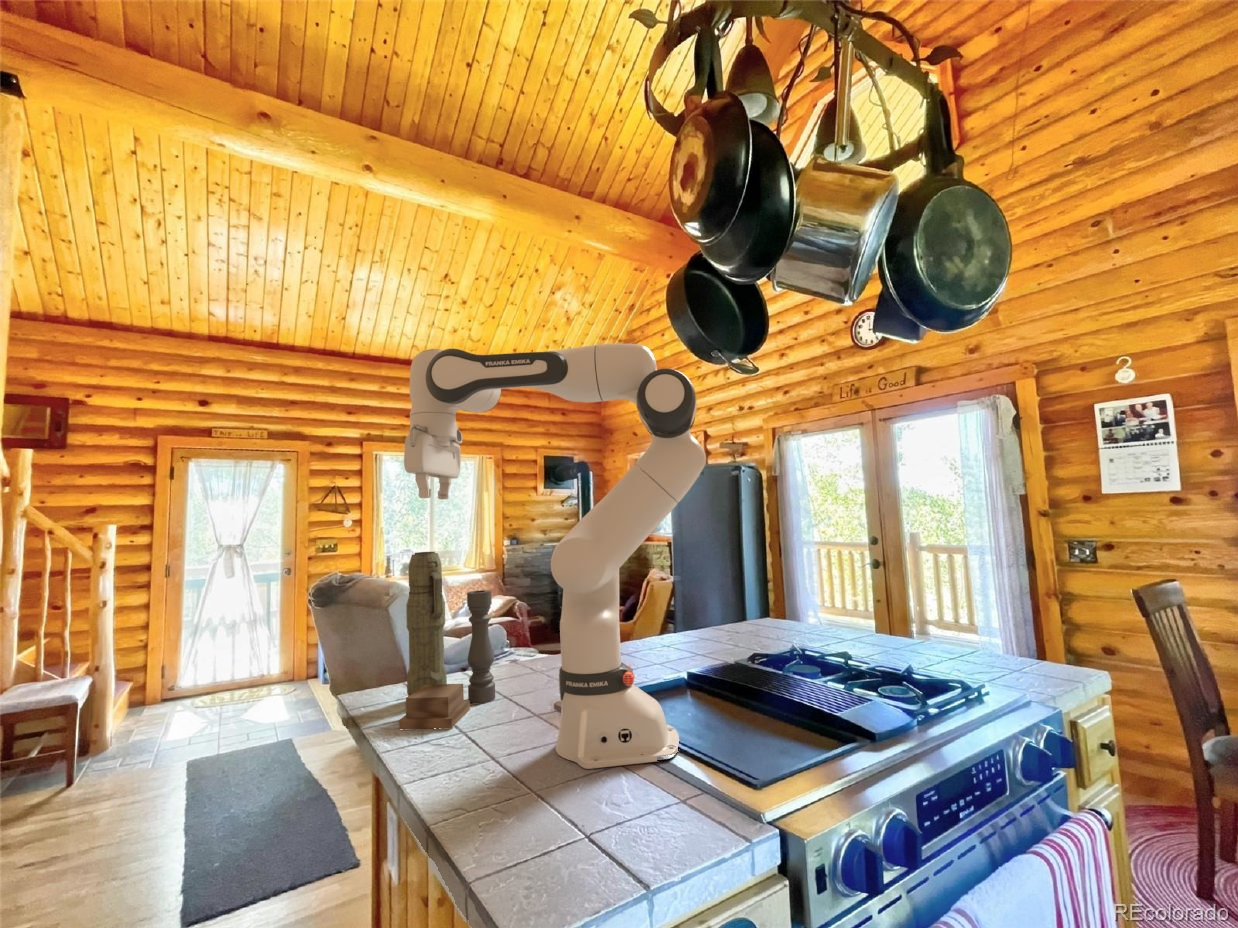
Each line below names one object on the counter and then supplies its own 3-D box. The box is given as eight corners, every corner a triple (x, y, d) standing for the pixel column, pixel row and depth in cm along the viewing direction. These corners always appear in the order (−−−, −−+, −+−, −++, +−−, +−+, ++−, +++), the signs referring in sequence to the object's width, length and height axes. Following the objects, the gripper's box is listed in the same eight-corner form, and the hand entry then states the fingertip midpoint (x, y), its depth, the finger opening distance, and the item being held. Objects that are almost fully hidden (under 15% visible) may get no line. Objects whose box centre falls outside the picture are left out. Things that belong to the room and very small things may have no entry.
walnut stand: (469, 709, 123) (469, 682, 123) (451, 728, 112) (451, 698, 113) (421, 711, 124) (421, 683, 124) (399, 730, 113) (398, 700, 113)
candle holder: (500, 697, 131) (497, 590, 133) (481, 705, 126) (478, 594, 128) (482, 693, 134) (479, 589, 136) (462, 701, 129) (460, 593, 131)
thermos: (428, 711, 124) (425, 553, 127) (395, 703, 130) (393, 554, 133) (459, 699, 131) (456, 550, 134) (426, 692, 137) (424, 551, 141)
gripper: (427, 421, 101) (429, 496, 100) (465, 436, 121) (466, 499, 120) (394, 423, 101) (395, 498, 100) (437, 438, 122) (438, 500, 120)
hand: (434, 498), depth 110 cm, fingers open, 8 cm apart
